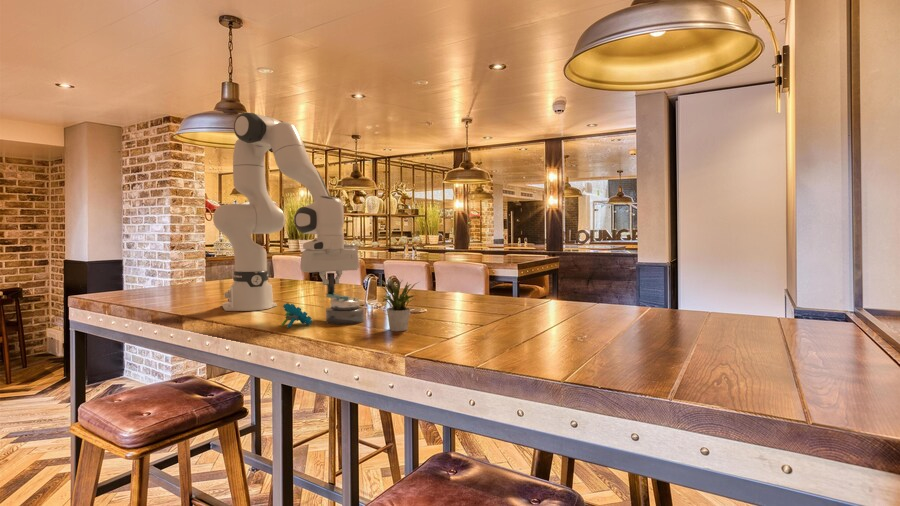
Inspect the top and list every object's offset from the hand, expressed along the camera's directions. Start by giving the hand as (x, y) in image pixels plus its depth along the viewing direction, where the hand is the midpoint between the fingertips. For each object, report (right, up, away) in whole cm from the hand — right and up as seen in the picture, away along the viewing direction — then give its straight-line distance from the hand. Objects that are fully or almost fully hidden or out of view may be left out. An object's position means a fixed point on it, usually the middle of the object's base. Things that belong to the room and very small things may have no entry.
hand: (330, 284), depth 166 cm
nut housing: (+6, -12, -7) cm, 15 cm away
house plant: (+24, -12, -20) cm, 33 cm away
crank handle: (+4, -7, -5) cm, 9 cm away
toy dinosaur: (-7, -12, -15) cm, 21 cm away
